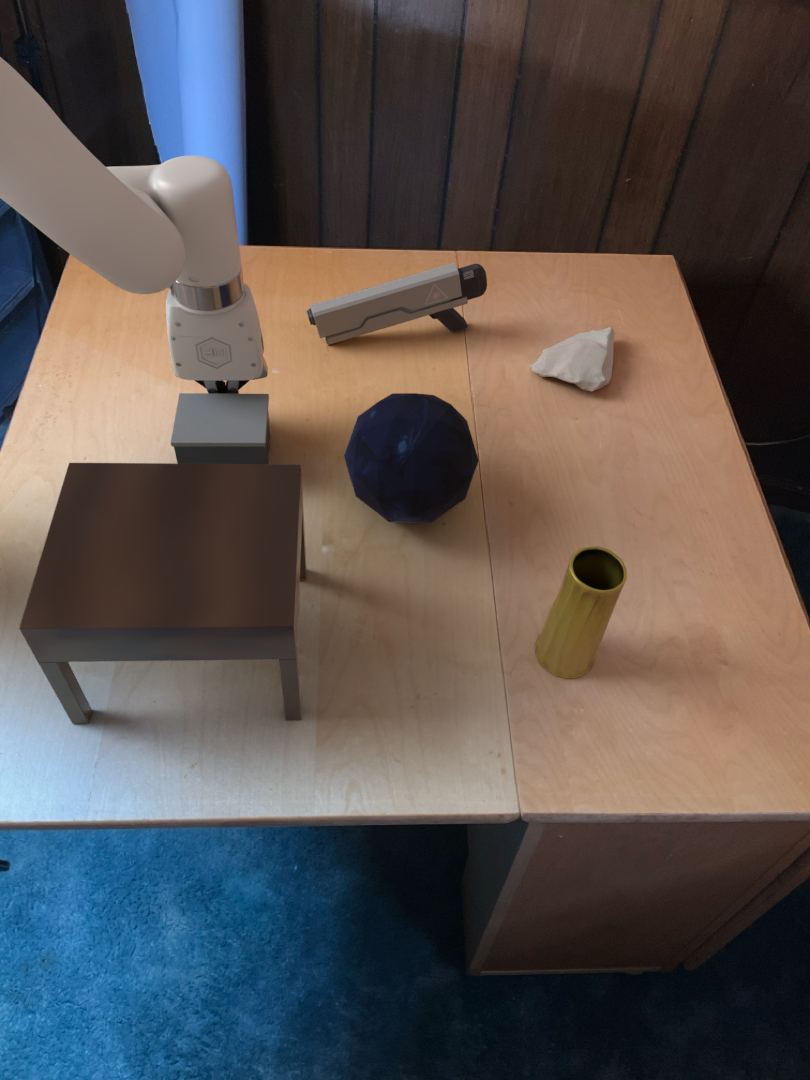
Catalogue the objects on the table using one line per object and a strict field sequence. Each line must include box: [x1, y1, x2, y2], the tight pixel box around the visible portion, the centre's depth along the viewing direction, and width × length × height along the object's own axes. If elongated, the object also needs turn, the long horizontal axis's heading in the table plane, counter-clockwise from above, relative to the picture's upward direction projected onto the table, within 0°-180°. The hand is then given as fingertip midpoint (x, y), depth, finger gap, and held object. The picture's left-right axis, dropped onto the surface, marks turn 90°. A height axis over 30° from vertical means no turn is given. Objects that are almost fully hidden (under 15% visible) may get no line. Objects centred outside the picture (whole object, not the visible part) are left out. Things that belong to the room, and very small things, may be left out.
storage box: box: [170, 392, 272, 464], centre depth 95 cm, size 10×8×6 cm
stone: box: [530, 326, 616, 392], centre depth 112 cm, size 11×4×15 cm
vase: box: [534, 545, 628, 679], centre depth 77 cm, size 6×6×14 cm
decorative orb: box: [343, 392, 480, 524], centre depth 89 cm, size 14×15×15 cm
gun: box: [306, 262, 488, 346], centre depth 112 cm, size 2×25×10 cm, turn 104°
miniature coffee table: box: [18, 462, 308, 725], centre depth 75 cm, size 21×20×16 cm
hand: (228, 412), depth 99 cm, fingers closed
